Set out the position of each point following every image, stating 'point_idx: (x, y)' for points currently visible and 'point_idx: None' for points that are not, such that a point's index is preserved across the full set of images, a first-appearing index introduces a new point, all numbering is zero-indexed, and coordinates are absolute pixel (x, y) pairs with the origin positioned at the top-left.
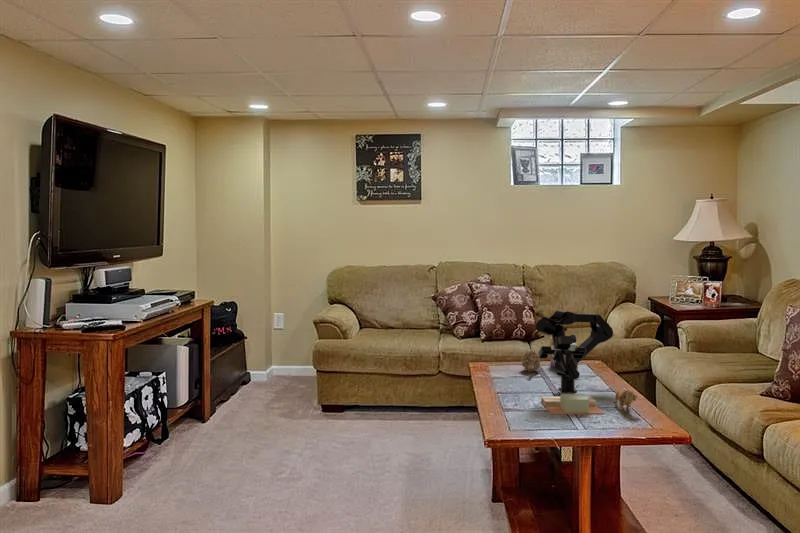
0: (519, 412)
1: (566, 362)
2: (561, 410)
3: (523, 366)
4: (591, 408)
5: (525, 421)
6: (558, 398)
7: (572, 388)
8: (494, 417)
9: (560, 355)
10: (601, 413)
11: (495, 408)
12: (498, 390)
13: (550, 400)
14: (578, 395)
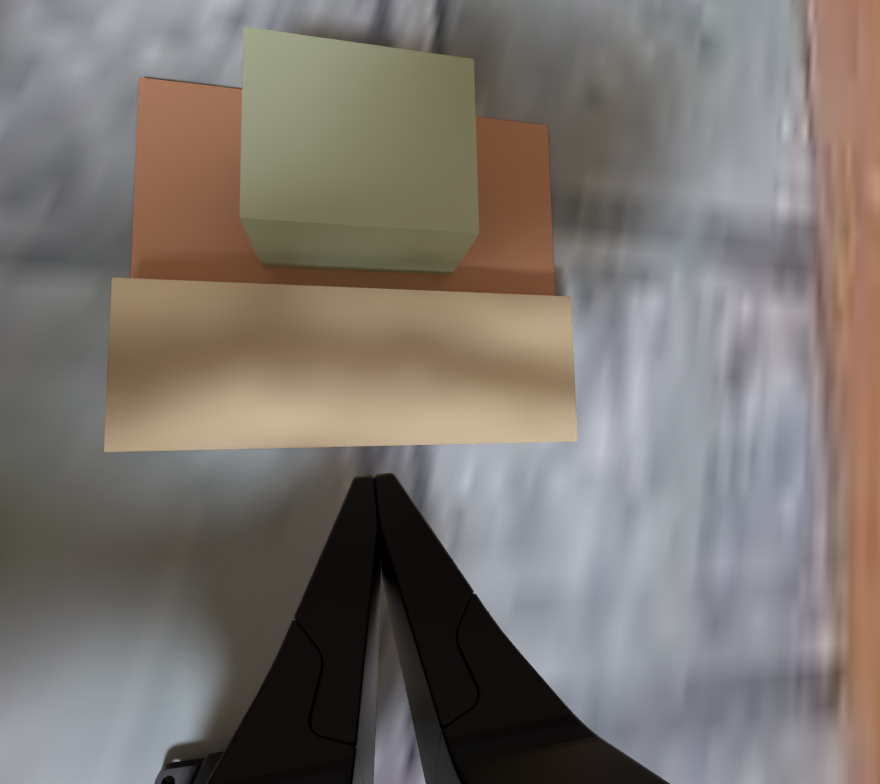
0: (730, 192)
1: (356, 598)
2: None
3: None
4: (204, 206)
5: (714, 21)
6: (446, 383)
7: (205, 773)
8: (863, 118)
9: (585, 772)
10: (163, 81)
11: (855, 288)
12: (828, 762)
13: (524, 326)
14: (308, 170)
